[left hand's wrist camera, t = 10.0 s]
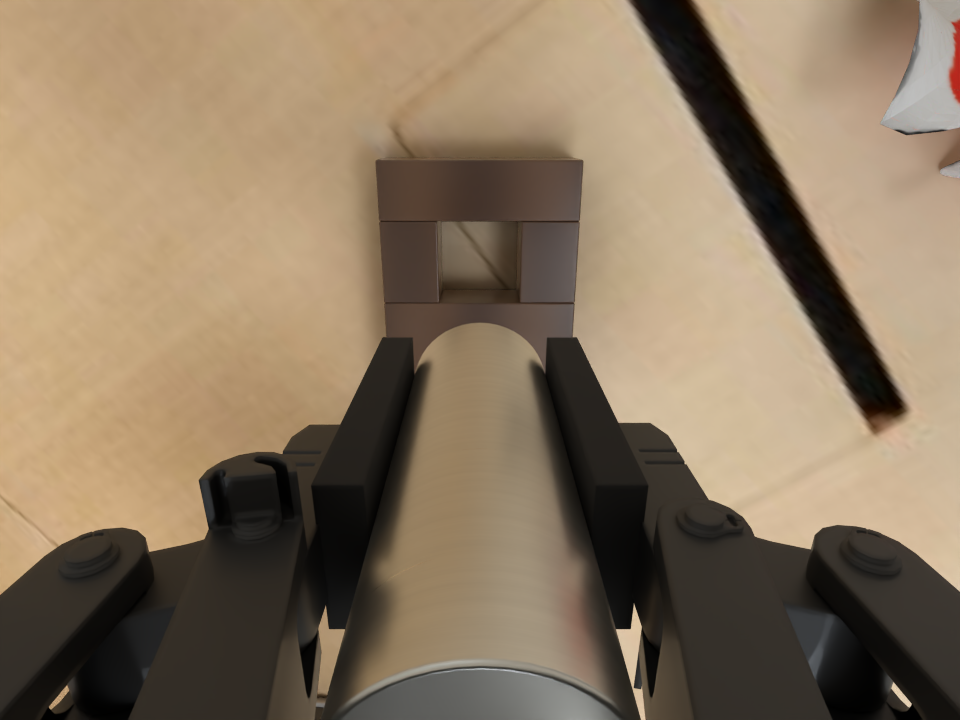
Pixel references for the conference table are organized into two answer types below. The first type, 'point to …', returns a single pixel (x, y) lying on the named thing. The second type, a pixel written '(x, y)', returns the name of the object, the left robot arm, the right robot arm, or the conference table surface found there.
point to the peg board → (479, 197)
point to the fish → (931, 77)
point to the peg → (480, 558)
